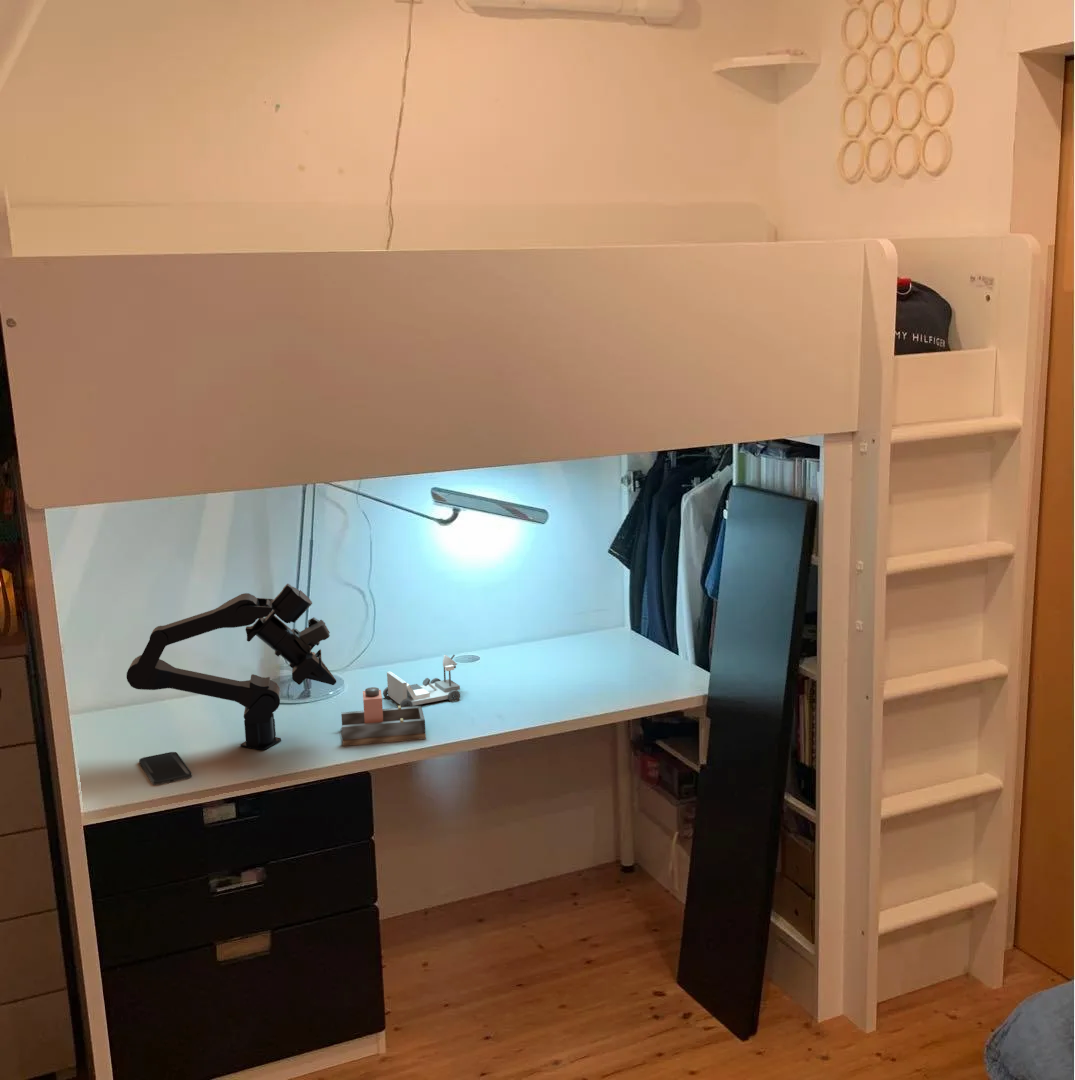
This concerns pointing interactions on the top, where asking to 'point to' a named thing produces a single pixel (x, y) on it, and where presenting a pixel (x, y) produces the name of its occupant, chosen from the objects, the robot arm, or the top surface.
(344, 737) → the track
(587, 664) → the top surface
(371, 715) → the slider
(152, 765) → the phone
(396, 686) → the toy car
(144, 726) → the top surface
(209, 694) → the robot arm
